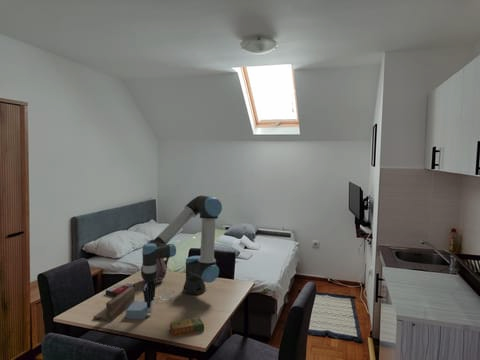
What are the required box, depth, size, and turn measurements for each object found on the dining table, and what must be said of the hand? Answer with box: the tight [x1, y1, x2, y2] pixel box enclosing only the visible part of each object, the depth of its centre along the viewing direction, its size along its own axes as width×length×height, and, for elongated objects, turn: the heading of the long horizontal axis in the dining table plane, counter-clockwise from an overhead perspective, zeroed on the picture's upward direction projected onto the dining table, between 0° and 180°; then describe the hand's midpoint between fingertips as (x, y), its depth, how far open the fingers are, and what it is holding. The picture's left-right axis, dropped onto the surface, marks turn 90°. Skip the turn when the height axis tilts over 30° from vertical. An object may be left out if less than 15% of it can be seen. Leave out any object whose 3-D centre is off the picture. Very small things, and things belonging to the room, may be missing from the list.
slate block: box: [125, 300, 149, 320], centre depth 187 cm, size 10×12×5 cm
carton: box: [169, 316, 205, 338], centre depth 169 cm, size 8×16×4 cm, turn 113°
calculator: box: [105, 281, 136, 298], centre depth 217 cm, size 11×4×15 cm
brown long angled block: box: [93, 287, 136, 323], centre depth 190 cm, size 11×24×10 cm, turn 168°
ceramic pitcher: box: [140, 258, 170, 284], centre depth 237 cm, size 18×21×25 cm
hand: (149, 312), depth 185 cm, fingers closed
